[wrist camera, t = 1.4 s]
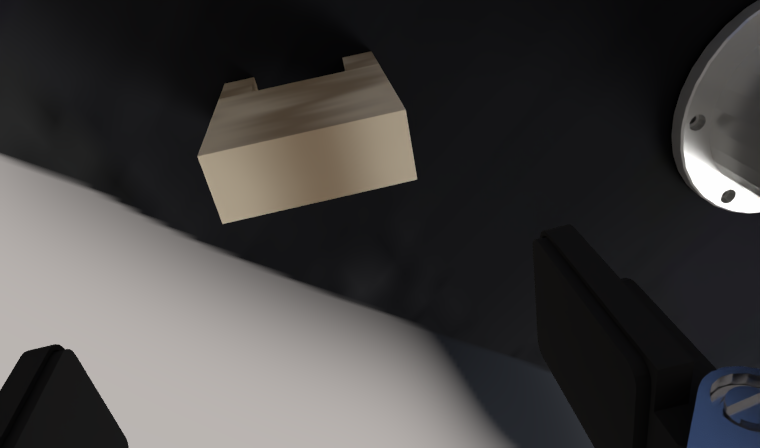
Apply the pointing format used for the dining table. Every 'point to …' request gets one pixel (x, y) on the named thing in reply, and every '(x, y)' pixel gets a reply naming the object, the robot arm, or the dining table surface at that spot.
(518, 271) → the dining table surface
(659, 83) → the dining table surface
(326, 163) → the notched wooden block
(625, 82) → the dining table surface
